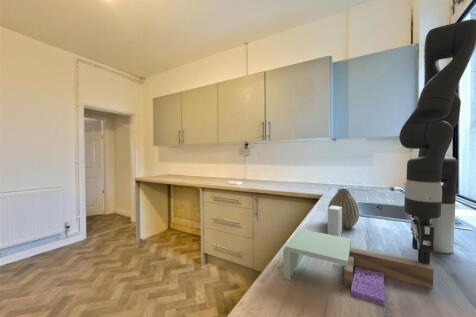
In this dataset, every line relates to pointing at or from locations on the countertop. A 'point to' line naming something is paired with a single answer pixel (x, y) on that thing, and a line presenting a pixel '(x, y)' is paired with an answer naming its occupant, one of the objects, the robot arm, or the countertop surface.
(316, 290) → the countertop surface
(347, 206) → the vase
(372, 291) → the sponges
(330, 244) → the wall shelf
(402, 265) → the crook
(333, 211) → the skincare box
